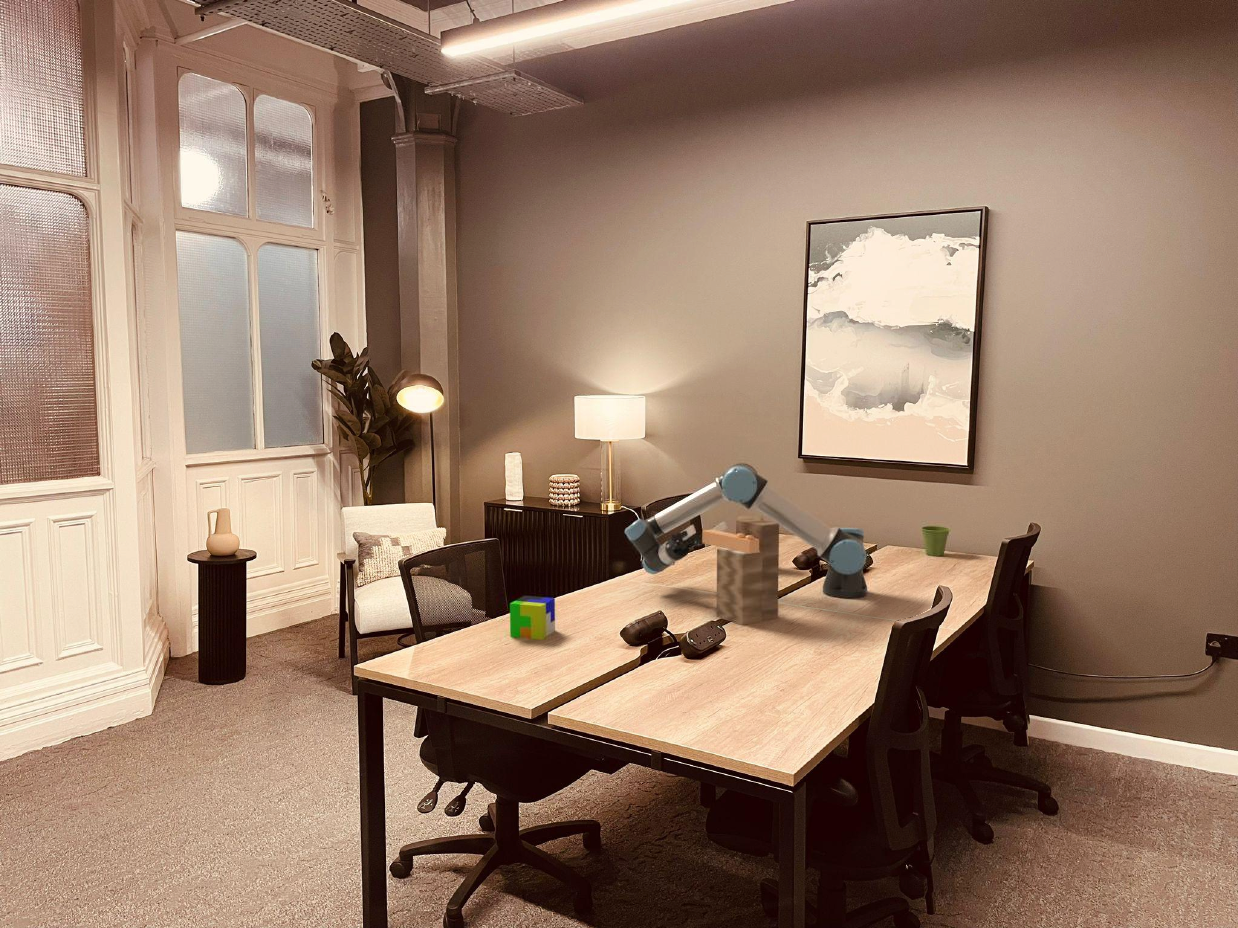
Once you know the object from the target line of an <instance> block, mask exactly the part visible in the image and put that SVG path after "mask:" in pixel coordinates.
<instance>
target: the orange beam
mask: <svg viewBox="0 0 1238 928" xmlns="http://www.w3.org/2000/svg"><path fill="white" fill-rule="evenodd" d="M702 543H703V544H704V545H705V544H706V545H710V546H715V547H719V548H726V549H731V550H735V551H739V552H744V553H748V554H752V553H758V552H759V539H755V538H754V536H752V535H747V536H746V537H745V534H743V533H739V534H737V535H736V533H735V534H734V533H731V532H726V531H723V532H722V531H717V530H712V528H711V529H703V530H702Z"/></svg>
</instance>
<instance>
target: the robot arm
mask: <svg viewBox="0 0 1238 928" xmlns="http://www.w3.org/2000/svg"><path fill="white" fill-rule="evenodd" d="M726 501H727V502H731V501H732V502H734V503H736V504H739V505H741V506H743V508H746V509H747V510H749V511H752V510H757V511H758V512H760V513H761V514H763V515H764V516H766V517H767V518H769V519H771V520H772V522H774V523H779V526H780V527H782V528H784V529H785V530H787V531H789V532H790V533H792V534H793V535H794V536H796V537H797V538H799V539H800V540H802V541H803V542H804V543H807V544H808V545H809V546H810V547H812V548H814V549H815V550H816V553H817V556H818V558H821V559H822V560H823V561H825V562H826V563H828V564H827V565H828V566H827V567H828V569H827V573H826V576H825V579H824V581H823V583H822V593H823V594H825V595H826V596H829V597H830V596H831V597H835V598H844V599H845V598H847V599H854V598H856V599H858V598H863V597H865V596H867V595H868V585H867V582H866V578H865V576H864V571H863V569H864V568H863V567H864V565H865V563H866V560H867V551H866V549H865V546H864V538H865V535H864V530H863V529H862V528H860V527H858V528H857V527H838V526H837V527H830V526H828V525H827V524H826V523H824V522H823V521H821V520H819V519H818V518H817V517H815V516H813V515H812V514H811V513H809V512H808V511H806V510H804V509H803V508H802V507H800V506H798V505H797V504H795V503H794V502H792V501H791V500H789V499H787V498H786V497H785V496H783V495H782V494H780V493H779V492H777V490H775V489H773V488H772V487H771V485H770V481H769V480H767V479H766V478H764V477H763V476H761V475H760V474H759V473H758V471H757V470H756V469H755V468H754V467H753V466H752V465H750V464H748V463H746V462H745V463H744V462H741V463H736V464H734V465H732V466H730V468H729V469H727V470H726V471H725V472H723V473H722V474H720V475H719V476H716V477H715V481H713V482H712V483H710V484H708V485H707V486H704V487H703V488H701V489H699V490H697V491H695V492H694V493H692V494H690V495H689V496H687V497H685V498H682V499H681V500H680V501H678V502H676V503H674V504H672V505H670V506H669V507H666V508H665V509H663V510H662V511H660V512H658V513H656V514H654V515H652V516H651V517H649V518H646V519H644V520H642V519H641V518H638V519H637V520H635V521H634V522H633V523H632V524H630V525H629V526H628V527H626V528H625V530H624V534H625V535H626V537H627V539H628V540H629V541H630V542H631V544H632V545H633V546H634V547H635V548H636V550H637V551H638V552H639V554H640V555H641V556H642V558H643V559H642V566H643V569H644V570H645V571H646V573H647V574H649V575H656V574H657V575H658V574H659V573H661V572H663V571H665V570H667V569H668V568H669V567H671V566H675V565H676V564H675V563H678V562H679V561H680V560H682V559H684V558H685V557H687V556H688V554H689V553H690V550H691V549H693V548H694V547H700V546H701V545H703V544H704V543H702V533H699V534H696V533H697V532H696V528H695V525H694V524H691V525H690V526H688V527H686V528H685V529H684V530H681V531H680V532H679V533H676V534H671V535H670V537H669V538H668V540H667V541H665V542H664V543H662V544H661V543H660V541H658V540H659V539H657V538H659V537H661V536H663V535H665V534H666V533H668V532H670V531H672V530H674V529H675V528H677V527H679V526H681V525H682V524H685V523H686V522H689V521H690V520H692V519H694V518H696V517H698V516H699V515H701V514H703V513H705V512H707V511H708V510H710V509H712V508H714V507H716V506H717V505H719V504H722V503H723V502H726ZM711 529H712V530H717V531H722V532H726V530H728V529H729V527H728V523H727V521H726V520H723V521H721V522H720V523H718V524H717V525H715V526H713V527H712V528H711Z"/></svg>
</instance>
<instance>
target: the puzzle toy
mask: <svg viewBox="0 0 1238 928" xmlns="http://www.w3.org/2000/svg"><path fill="white" fill-rule="evenodd" d="M555 601H556V599H555V597H548V596H547V597H545V596H534V595H522V596H520V597H519V598H518V599H516V600H514V601H512V602H510V603H509V627H510V634H509V636H510V638H521V639H529V640H530V639H531V640H538V641H539V640H540V641H542V640H544V639H545V638H546V637H548V636H549V635H551V634H552V633H554V632H555V631H556V602H555Z"/></svg>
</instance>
